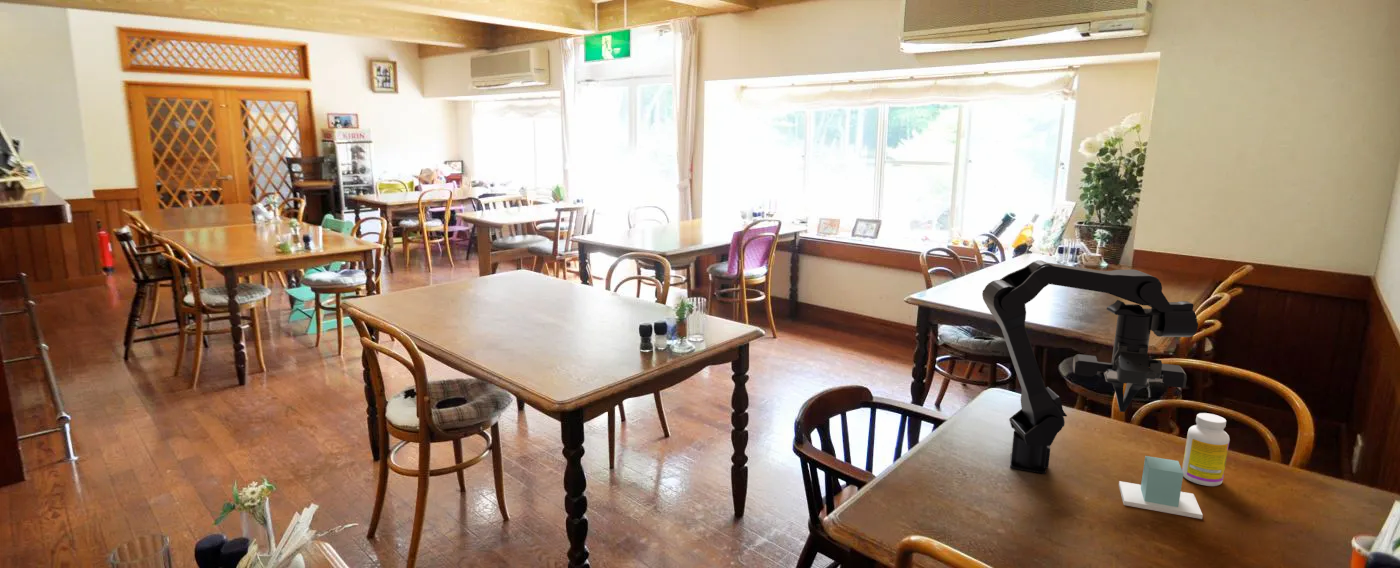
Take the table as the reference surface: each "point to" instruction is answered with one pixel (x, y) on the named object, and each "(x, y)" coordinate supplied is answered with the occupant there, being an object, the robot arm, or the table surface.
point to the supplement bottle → (1206, 450)
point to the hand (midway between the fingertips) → (1121, 411)
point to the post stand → (1135, 498)
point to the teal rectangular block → (1161, 481)
